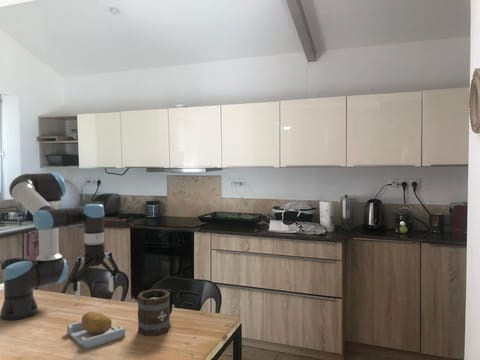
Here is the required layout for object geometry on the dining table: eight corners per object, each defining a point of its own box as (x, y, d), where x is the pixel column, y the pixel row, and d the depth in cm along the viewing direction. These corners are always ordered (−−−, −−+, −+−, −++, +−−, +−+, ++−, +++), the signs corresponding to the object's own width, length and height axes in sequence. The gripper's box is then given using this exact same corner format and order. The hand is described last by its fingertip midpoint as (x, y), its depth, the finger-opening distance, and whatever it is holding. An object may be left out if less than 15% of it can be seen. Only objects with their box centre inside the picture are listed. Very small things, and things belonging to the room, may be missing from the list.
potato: (99, 341, 151) (99, 321, 151) (75, 333, 158) (75, 314, 158) (118, 332, 160) (118, 313, 159) (95, 325, 167) (95, 306, 166)
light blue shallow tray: (67, 333, 160) (67, 325, 160) (105, 322, 171) (105, 314, 171) (85, 349, 146) (84, 340, 146) (125, 336, 157) (125, 328, 157)
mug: (158, 339, 155) (157, 301, 154) (130, 333, 160) (130, 297, 160) (184, 320, 173) (184, 287, 172) (158, 316, 178) (158, 283, 178)
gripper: (65, 249, 146) (66, 304, 147) (127, 240, 162) (127, 290, 164) (58, 245, 151) (59, 299, 152) (119, 237, 168) (119, 285, 169)
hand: (94, 294), depth 158 cm, fingers open, 13 cm apart
